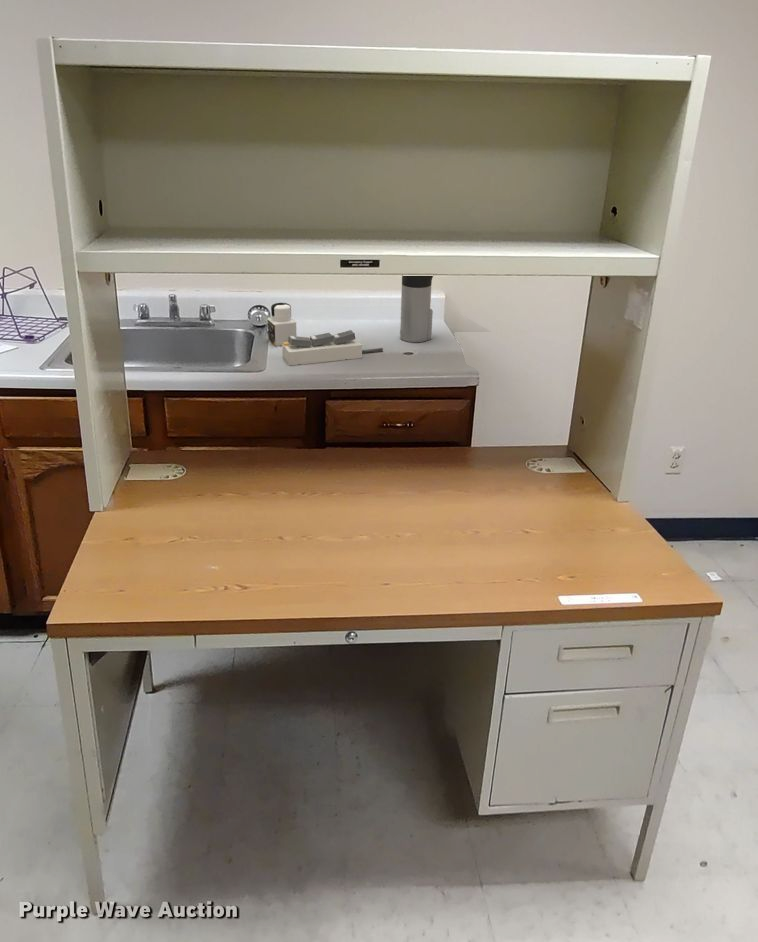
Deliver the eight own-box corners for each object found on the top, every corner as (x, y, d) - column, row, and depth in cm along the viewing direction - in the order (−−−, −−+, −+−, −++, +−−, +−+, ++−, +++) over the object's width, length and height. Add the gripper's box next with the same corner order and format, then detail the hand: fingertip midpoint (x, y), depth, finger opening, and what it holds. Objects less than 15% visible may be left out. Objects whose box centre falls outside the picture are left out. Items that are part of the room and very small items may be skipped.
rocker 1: (307, 343, 222) (308, 336, 221) (310, 346, 219) (311, 340, 218) (287, 341, 220) (288, 335, 219) (290, 345, 217) (291, 338, 216)
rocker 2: (351, 335, 226) (350, 329, 225) (355, 339, 223) (354, 332, 222) (333, 340, 224) (331, 334, 223) (336, 344, 222) (335, 338, 221)
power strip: (377, 347, 233) (377, 332, 231) (386, 355, 226) (387, 340, 224) (282, 356, 223) (282, 341, 221) (289, 365, 217) (289, 350, 215)
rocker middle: (329, 338, 224) (328, 332, 223) (333, 341, 221) (332, 335, 220) (310, 342, 222) (309, 336, 221) (313, 346, 219) (312, 339, 218)
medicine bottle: (268, 340, 238) (266, 302, 232) (289, 337, 240) (288, 300, 235) (275, 346, 232) (273, 308, 226) (297, 344, 235) (295, 305, 229)
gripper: (343, 206, 217) (345, 267, 225) (299, 209, 213) (303, 271, 221) (352, 209, 211) (354, 272, 219) (307, 213, 207) (310, 277, 215)
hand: (328, 271), depth 220 cm, fingers closed
